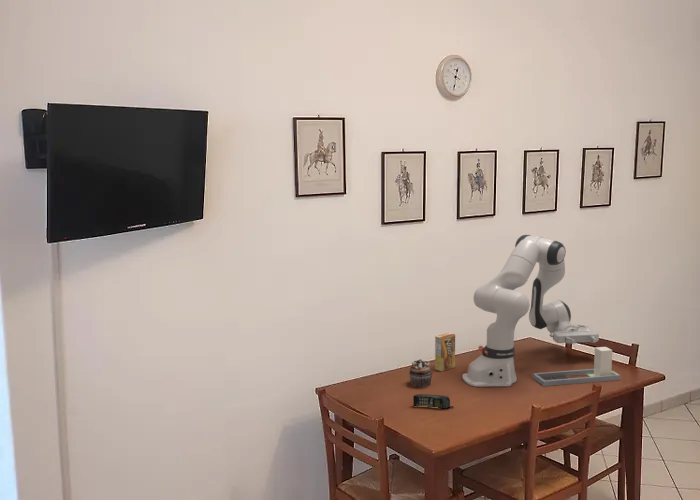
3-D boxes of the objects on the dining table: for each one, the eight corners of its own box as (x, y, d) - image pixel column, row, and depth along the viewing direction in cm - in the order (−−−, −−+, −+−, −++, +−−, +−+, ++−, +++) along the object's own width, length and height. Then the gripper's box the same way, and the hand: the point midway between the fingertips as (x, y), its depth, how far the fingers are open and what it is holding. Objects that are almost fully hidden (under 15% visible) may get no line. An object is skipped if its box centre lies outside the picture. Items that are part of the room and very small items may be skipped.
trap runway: (543, 386, 271) (543, 381, 270) (532, 378, 280) (532, 373, 280) (620, 379, 276) (620, 375, 276) (606, 372, 286) (607, 367, 286)
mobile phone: (412, 396, 250) (453, 397, 247) (413, 393, 253) (453, 394, 250) (413, 408, 251) (453, 410, 248) (414, 405, 254) (453, 407, 251)
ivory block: (600, 378, 277) (601, 351, 276) (593, 374, 282) (594, 347, 281) (611, 377, 278) (612, 350, 276) (604, 374, 283) (605, 346, 281)
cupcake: (404, 385, 275) (404, 361, 273) (418, 378, 282) (418, 356, 280) (423, 390, 268) (423, 366, 267) (437, 383, 275) (437, 360, 274)
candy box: (448, 365, 299) (448, 332, 297) (455, 367, 296) (455, 334, 293) (434, 369, 293) (434, 335, 291) (441, 371, 290) (441, 337, 288)
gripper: (548, 327, 303) (562, 335, 290) (589, 325, 307) (605, 333, 293) (547, 341, 304) (562, 349, 291) (588, 339, 308) (605, 347, 294)
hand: (584, 341), depth 292 cm, fingers open, 8 cm apart
